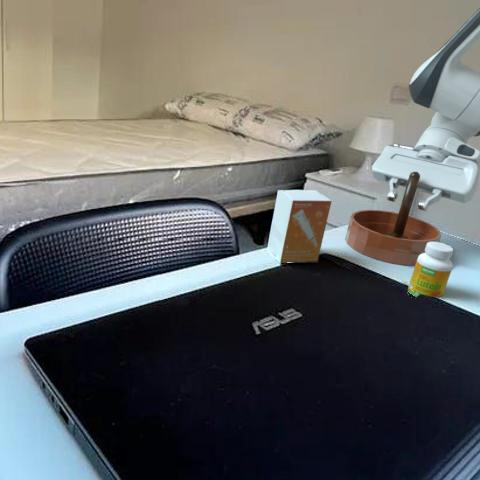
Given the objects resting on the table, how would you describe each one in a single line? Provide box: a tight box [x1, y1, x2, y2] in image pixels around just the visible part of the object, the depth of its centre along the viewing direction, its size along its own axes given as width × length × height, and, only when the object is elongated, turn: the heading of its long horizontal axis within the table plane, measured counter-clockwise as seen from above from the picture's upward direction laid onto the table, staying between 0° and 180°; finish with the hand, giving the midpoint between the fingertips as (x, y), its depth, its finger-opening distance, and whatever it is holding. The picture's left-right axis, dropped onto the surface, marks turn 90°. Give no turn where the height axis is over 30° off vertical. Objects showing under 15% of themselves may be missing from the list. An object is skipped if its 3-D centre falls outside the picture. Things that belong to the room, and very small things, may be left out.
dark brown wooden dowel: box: [384, 172, 420, 240], centre depth 104 cm, size 5×5×16 cm
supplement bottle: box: [407, 241, 454, 298], centre depth 85 cm, size 5×5×10 cm
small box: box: [266, 189, 332, 264], centre depth 95 cm, size 8×6×13 cm
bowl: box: [344, 209, 442, 267], centre depth 104 cm, size 17×17×6 cm
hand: (405, 204), depth 103 cm, fingers open, 5 cm apart
